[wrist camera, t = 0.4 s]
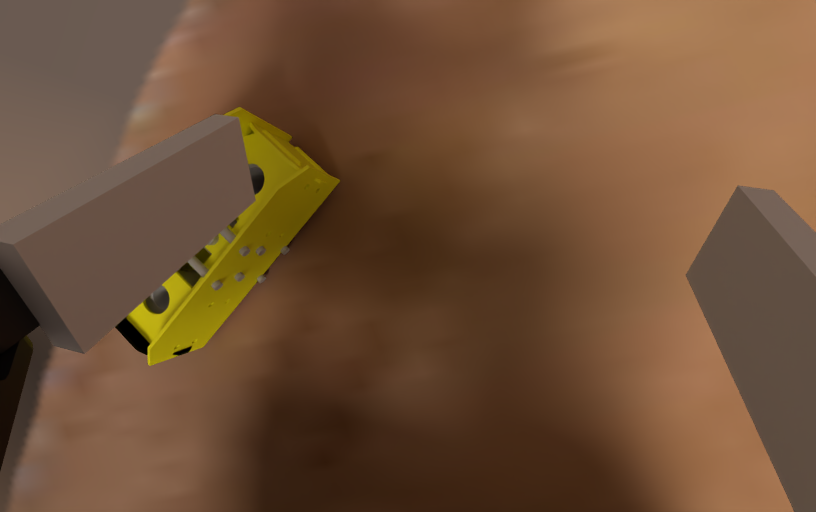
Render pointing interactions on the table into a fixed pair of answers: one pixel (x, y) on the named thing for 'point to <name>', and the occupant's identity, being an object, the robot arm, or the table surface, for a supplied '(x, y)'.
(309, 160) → the yellow toy chassis
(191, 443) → the table surface
